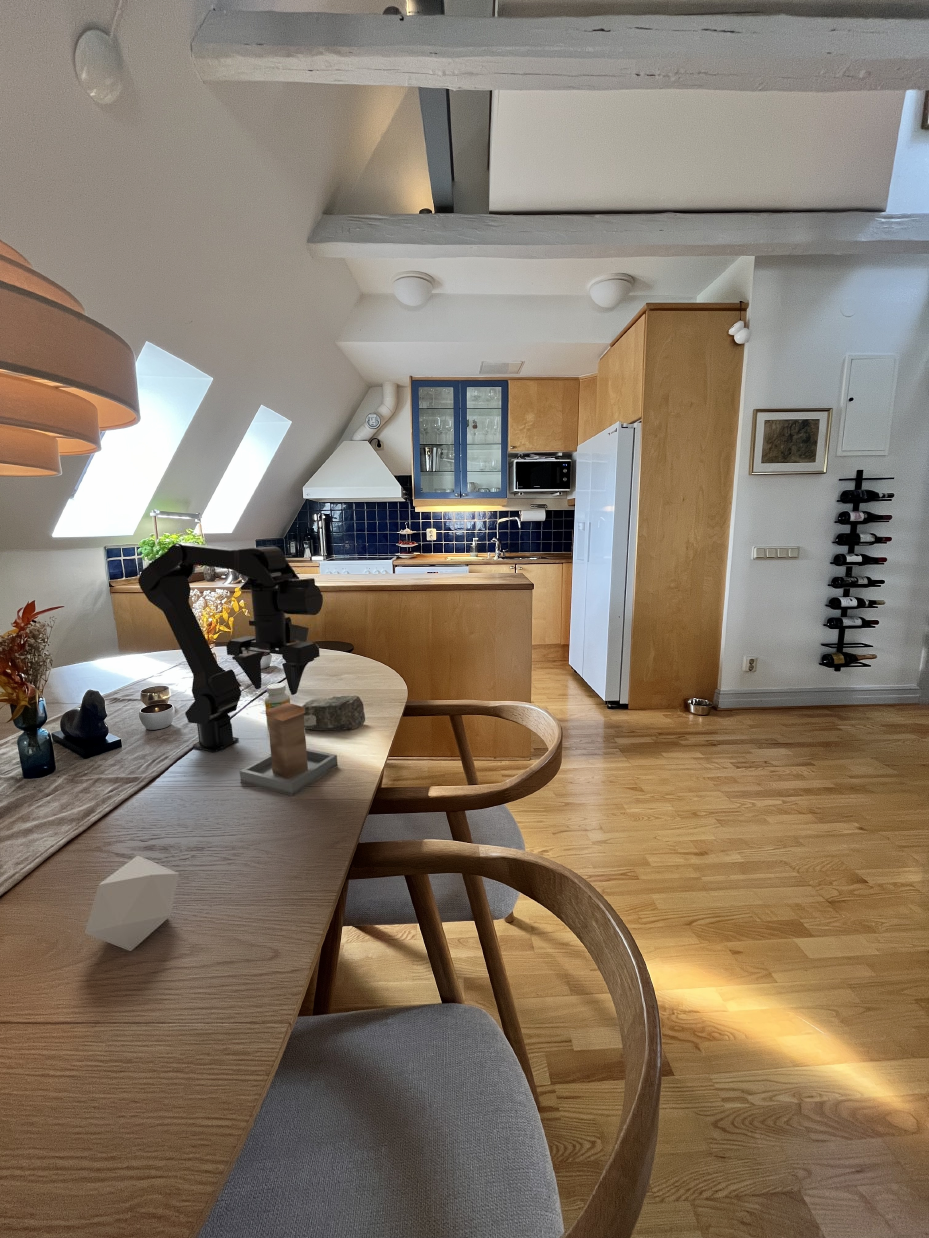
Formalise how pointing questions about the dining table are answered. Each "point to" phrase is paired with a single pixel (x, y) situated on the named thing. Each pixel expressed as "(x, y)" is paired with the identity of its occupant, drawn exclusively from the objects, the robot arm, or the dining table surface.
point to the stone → (334, 713)
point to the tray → (266, 779)
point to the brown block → (287, 739)
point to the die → (132, 903)
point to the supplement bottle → (276, 696)
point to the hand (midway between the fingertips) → (276, 691)
